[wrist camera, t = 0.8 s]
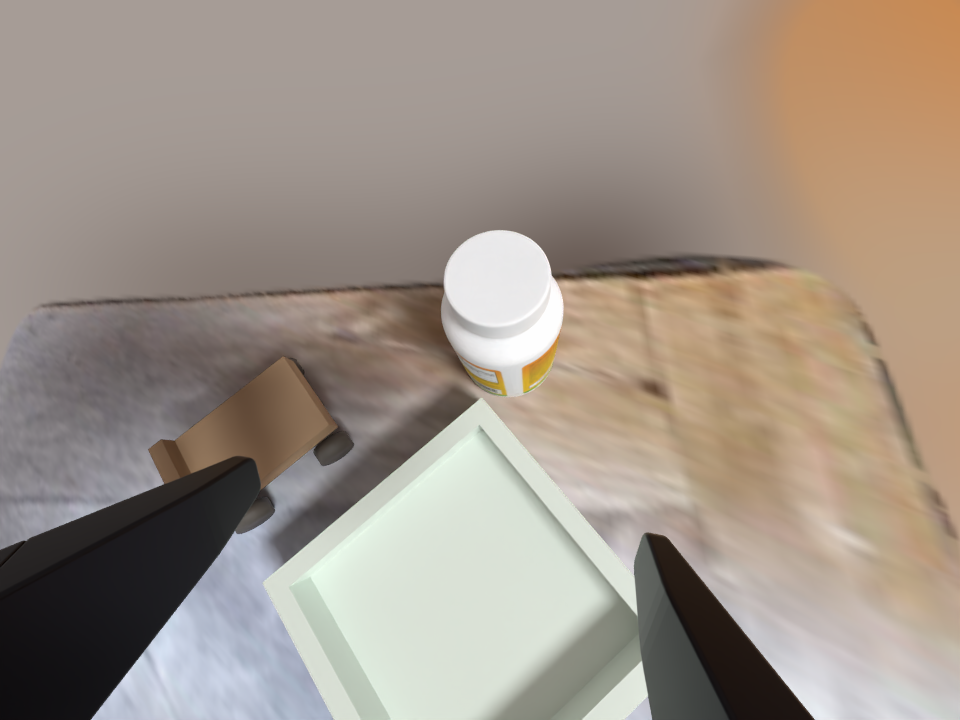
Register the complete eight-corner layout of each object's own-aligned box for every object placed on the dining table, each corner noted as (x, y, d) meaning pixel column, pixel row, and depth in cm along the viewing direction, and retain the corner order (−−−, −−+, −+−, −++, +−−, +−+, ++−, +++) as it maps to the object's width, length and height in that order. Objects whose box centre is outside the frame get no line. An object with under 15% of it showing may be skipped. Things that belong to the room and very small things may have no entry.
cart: (250, 533, 22) (194, 545, 18) (202, 443, 24) (142, 437, 20) (361, 441, 23) (329, 435, 19) (306, 361, 24) (266, 341, 21)
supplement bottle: (545, 307, 24) (557, 200, 14) (561, 391, 22) (586, 332, 13) (460, 321, 24) (418, 225, 15) (469, 404, 22) (430, 356, 13)
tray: (446, 848, 17) (433, 909, 14) (292, 570, 21) (262, 582, 19) (673, 625, 18) (695, 648, 16) (486, 405, 22) (481, 397, 20)
